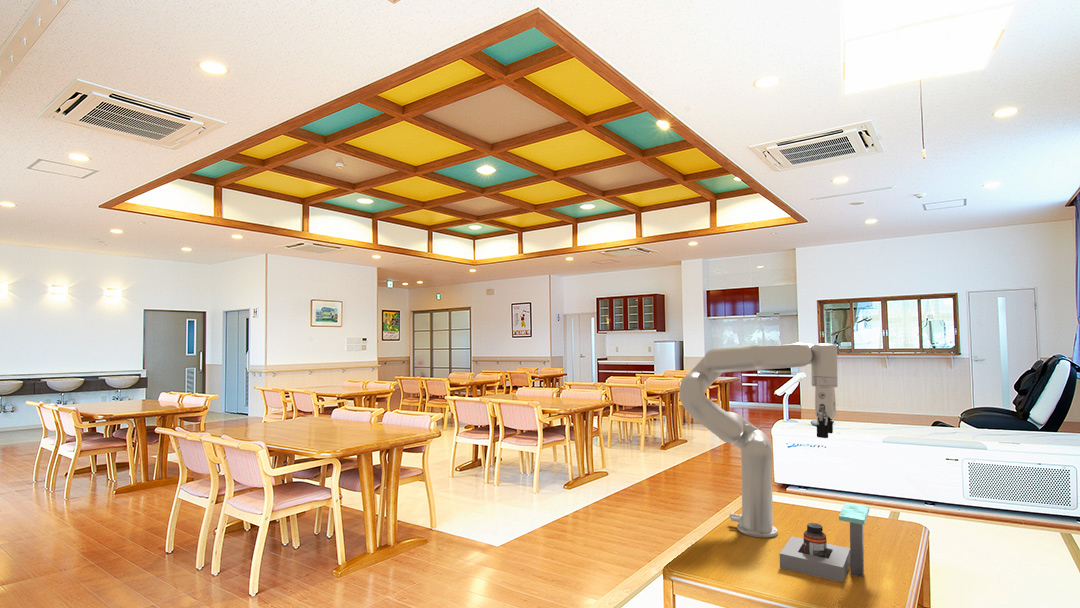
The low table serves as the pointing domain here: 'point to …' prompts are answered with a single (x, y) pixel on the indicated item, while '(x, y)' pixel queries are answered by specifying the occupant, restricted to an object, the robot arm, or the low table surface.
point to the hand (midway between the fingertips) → (824, 435)
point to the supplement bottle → (815, 541)
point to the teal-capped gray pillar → (855, 535)
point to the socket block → (815, 560)
